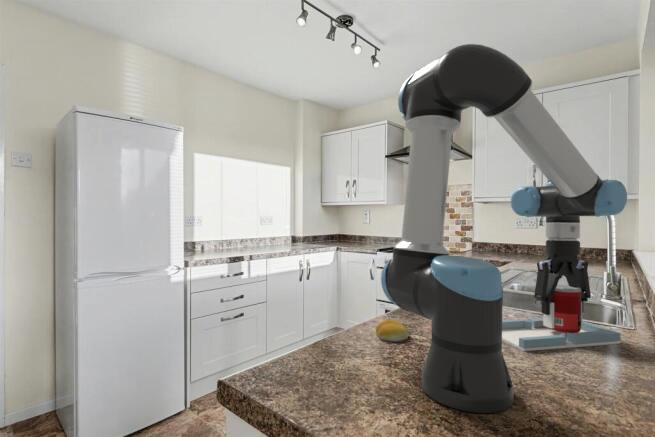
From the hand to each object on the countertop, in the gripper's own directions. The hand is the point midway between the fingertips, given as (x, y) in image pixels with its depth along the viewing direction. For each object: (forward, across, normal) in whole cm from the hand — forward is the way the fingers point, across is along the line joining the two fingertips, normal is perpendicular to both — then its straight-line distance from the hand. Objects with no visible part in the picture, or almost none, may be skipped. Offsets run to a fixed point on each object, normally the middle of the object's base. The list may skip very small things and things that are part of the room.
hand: (562, 325), depth 92 cm
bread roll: (+3, -44, +8) cm, 45 cm away
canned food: (+1, 0, 0) cm, 1 cm away
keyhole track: (+3, -4, 0) cm, 5 cm away
